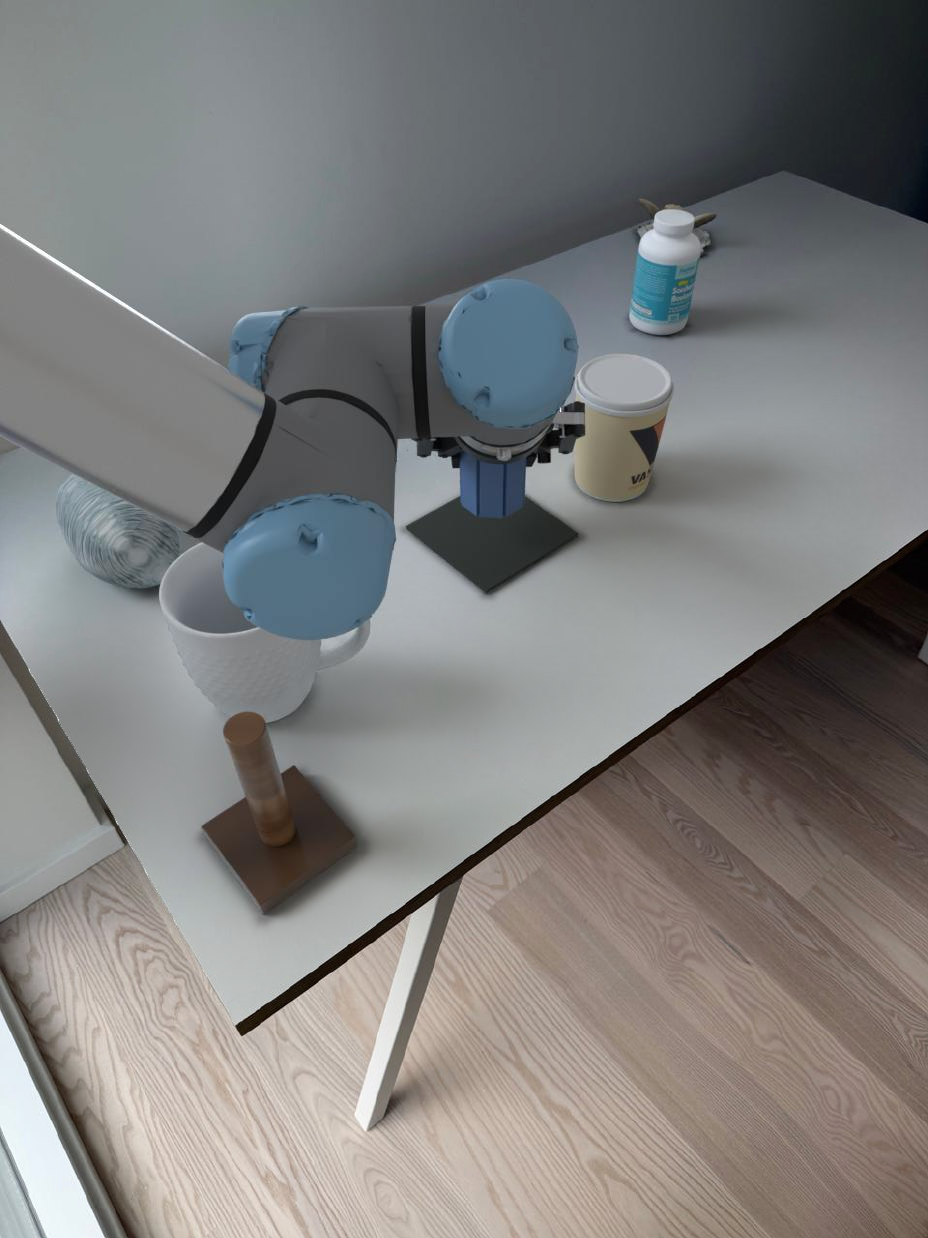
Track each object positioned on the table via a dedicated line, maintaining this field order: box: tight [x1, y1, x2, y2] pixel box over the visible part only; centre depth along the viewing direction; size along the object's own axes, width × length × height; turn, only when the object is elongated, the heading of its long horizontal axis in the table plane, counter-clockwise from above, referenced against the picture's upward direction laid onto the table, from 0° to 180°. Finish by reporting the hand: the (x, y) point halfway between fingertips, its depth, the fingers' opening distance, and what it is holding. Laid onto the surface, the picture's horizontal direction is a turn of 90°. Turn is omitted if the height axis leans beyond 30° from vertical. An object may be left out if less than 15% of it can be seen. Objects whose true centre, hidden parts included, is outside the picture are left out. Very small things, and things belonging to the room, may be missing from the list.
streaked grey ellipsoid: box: [55, 473, 181, 589], centre depth 83 cm, size 14×10×10 cm
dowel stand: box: [200, 711, 358, 916], centre depth 60 cm, size 8×8×14 cm
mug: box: [158, 542, 372, 724], centre depth 70 cm, size 15×11×13 cm
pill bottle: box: [628, 209, 701, 336], centre depth 110 cm, size 8×7×14 cm
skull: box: [636, 198, 718, 257], centre depth 128 cm, size 12×10×9 cm
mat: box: [405, 495, 579, 594], centre depth 87 cm, size 12×12×1 cm
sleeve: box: [459, 450, 527, 518], centre depth 81 cm, size 6×6×9 cm
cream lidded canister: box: [574, 353, 675, 503], centre depth 89 cm, size 9×9×12 cm
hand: (491, 453), depth 85 cm, fingers closed on sleeve, 6 cm apart
